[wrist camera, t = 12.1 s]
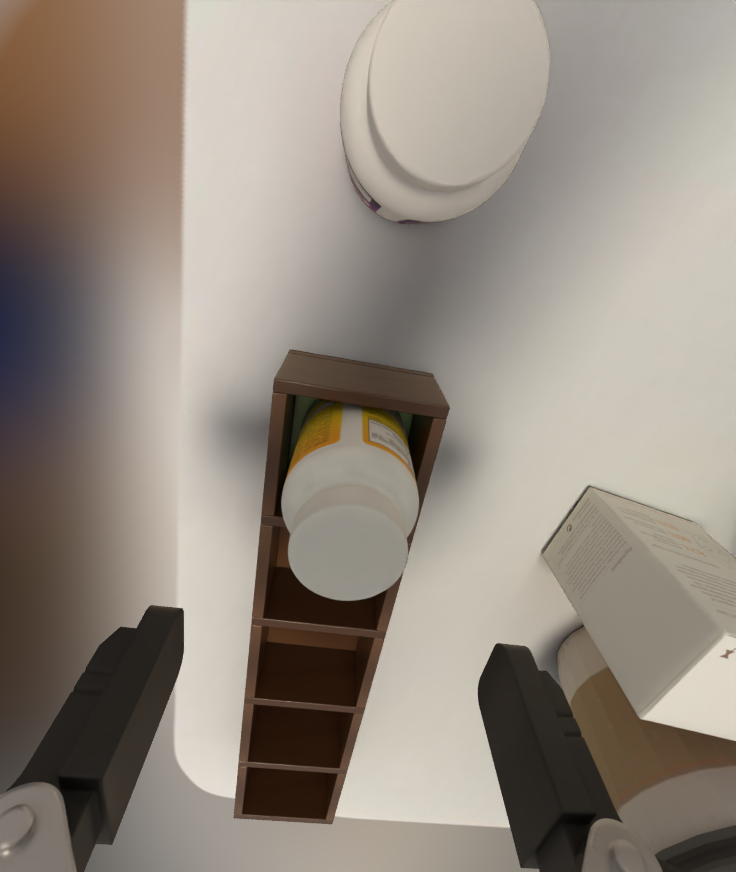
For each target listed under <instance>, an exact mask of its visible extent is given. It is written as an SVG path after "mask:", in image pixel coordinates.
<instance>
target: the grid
mask: <svg viewBox="0 0 736 872" xmlns="http://www.w3.org/2000/svg"><path fill="white" fill-rule="evenodd" d="M319 399H323V400H329V401H336V402H342V403H348V404H354V405H361V406H367V407H373V408H379V409H386V410H392V411H398V412H399V414H400V416H401V418H402V421H403V424H404V428H405V433H406V437H407V442H408V446H409V451H410V456H411V461H412V465H413V470H414V475H415V479H416V483H417V489H418V496H419V510H418V516H417V519H416V522H415V525H414V527H413V529H412V531H411V533H410V534H409V536H408V537H407V544H408V554H409V550H410V547H411V543H412V540H413V536H414V533H415V530H416V526H417V522H418V519H419V515H420V512H421V508H422V505H423V501H424V498H425V494H426V491H427V487H428V484H429V480H430V476H431V473H432V469H433V466H434V462H435V459H436V455H437V452H438V448H439V445H440V441H441V438H442V434H443V431H444V427H445V423H446V418H447V416H448V412H449V409H450V407H449V405H448V403H447V401H446V399H445V397H444V395H443V393H442V391H441V389H440V387H439V385H438V384H437V382H436V380H435V378H434V376H433V374H430V373H424V372H418V371H412V370H406V369H400V368H394V367H389V366H383V365H377V364H371V363H365V362H359V361H353V360H347V359H342V358H336V357H330V356H324V355H318V354H312V353H306V352H300V351H294V350H290V351H289V352H288V354H287V356H286V358H285V360H284V362H283V364H282V365H281V367H280V369H279V371H278V373H277V375H276V377H275V379H274V385H273V395H272V406H271V417H270V427H269V438H268V449H267V460H266V471H265V482H264V493H263V503H262V515H261V525H260V536H259V547H258V558H257V569H256V580H255V590H254V601H253V612H252V625H251V634H250V645H249V656H248V667H247V678H246V688H245V699H244V710H243V720H242V731H241V742H240V753H239V764H238V775H237V786H236V797H235V809H234V818H240V819H257V820H272V821H288V822H305V823H322V824H332V823H333V819H334V816H335V812H336V809H337V805H338V802H339V798H340V795H341V791H342V788H343V784H344V780H345V777H346V773H347V770H348V766H349V763H350V759H351V756H352V752H353V749H354V745H355V742H356V738H357V735H358V731H359V727H360V724H361V720H362V717H363V713H364V710H365V706H366V702H367V699H368V695H369V692H370V688H371V685H372V681H373V678H374V674H375V671H376V667H377V664H378V660H379V656H380V653H381V649H382V646H383V642H384V638H385V635H386V631H387V628H388V625H389V621H390V618H391V614H392V610H393V607H394V603H395V600H396V596H397V593H398V589H399V586H400V582H401V579H402V575H403V573H402V574H401V576H400V578H399V579H398V580H397V581H396V582H395V583H394V584H393V585H392V586H391V587H389V588H388V589H387V590H385V591H383V592H381V593H379V594H377V595H375V596H372V597H370V598H366V599H361V600H353V601H342V600H335V599H330V598H327V597H323V596H321V595H318V594H316V593H314V592H313V591H311V590H309V589H308V588H307V587H305V586H304V585H303V584H302V583H301V582H300V581H299V580H298V579H297V577H296V576H295V574H294V573H293V571H292V569H291V567H290V563H289V559H288V544H289V538H290V532H289V531H288V529H287V527H286V524H285V522H284V519H283V514H282V507H281V499H282V492H283V487H284V484H285V480H286V477H287V474H288V470H289V467H290V464H291V461H292V457H293V454H294V451H295V447H296V444H297V441H298V437H299V434H300V430H301V427H302V423H303V421H304V418H305V416H306V414H307V412H308V411H309V409H310V408H311V406H312V405H313V404H314V403H315V402H316V401H317V400H319ZM403 572H404V571H403Z"/></svg>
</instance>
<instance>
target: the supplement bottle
mask: <svg viewBox="0 0 736 872" xmlns="http://www.w3.org/2000/svg"><path fill="white" fill-rule="evenodd" d="M281 507H282V514H283V519H284V522H285V524H286V527H287V529H288V531H289V532H290V538H289V544H288V559H289V563H290V567H291V569H292V571H293V573H294V574H295V576H296V577H297V579H298V580H299V581H300V582H301V583H302V584H303V585H304V586H305V587H307V588H308V589H309V590H311V591H313V592H314V593H316V594H318V595H321V596H323V597H327V598H330V599H335V600H342V601H353V600H361V599H366V598H370V597H372V596H375V595H377V594H379V593H381V592H383V591H385V590H387V589H388V588H389V587H391V586H392V585H393V584H394V583H395V582H396V581H397V580H398V579H399V578H400V576H401V574H402V573H403V571H404V569H405V566H406V563H407V559H408V544H407V537H408V536H409V534H410V533H411V531H412V529H413V527H414V525H415V522H416V519H417V516H418V510H419V496H418V489H417V483H416V479H415V475H414V470H413V465H412V461H411V456H410V451H409V446H408V442H407V437H406V433H405V428H404V424H403V421H402V418H401V416H400V414H399V412H398V411H392V410H386V409H379V408H373V407H367V406H361V405H354V404H348V403H342V402H336V401H329V400H323V399H319V400H317V401H316V402H315V403H314V404H313V405H312V406H311V408H310V409H309V411H308V412H307V414H306V416H305V418H304V421H303V423H302V427H301V430H300V434H299V437H298V441H297V444H296V447H295V451H294V454H293V457H292V461H291V464H290V467H289V470H288V474H287V477H286V480H285V484H284V487H283V492H282V499H281Z"/></svg>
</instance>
